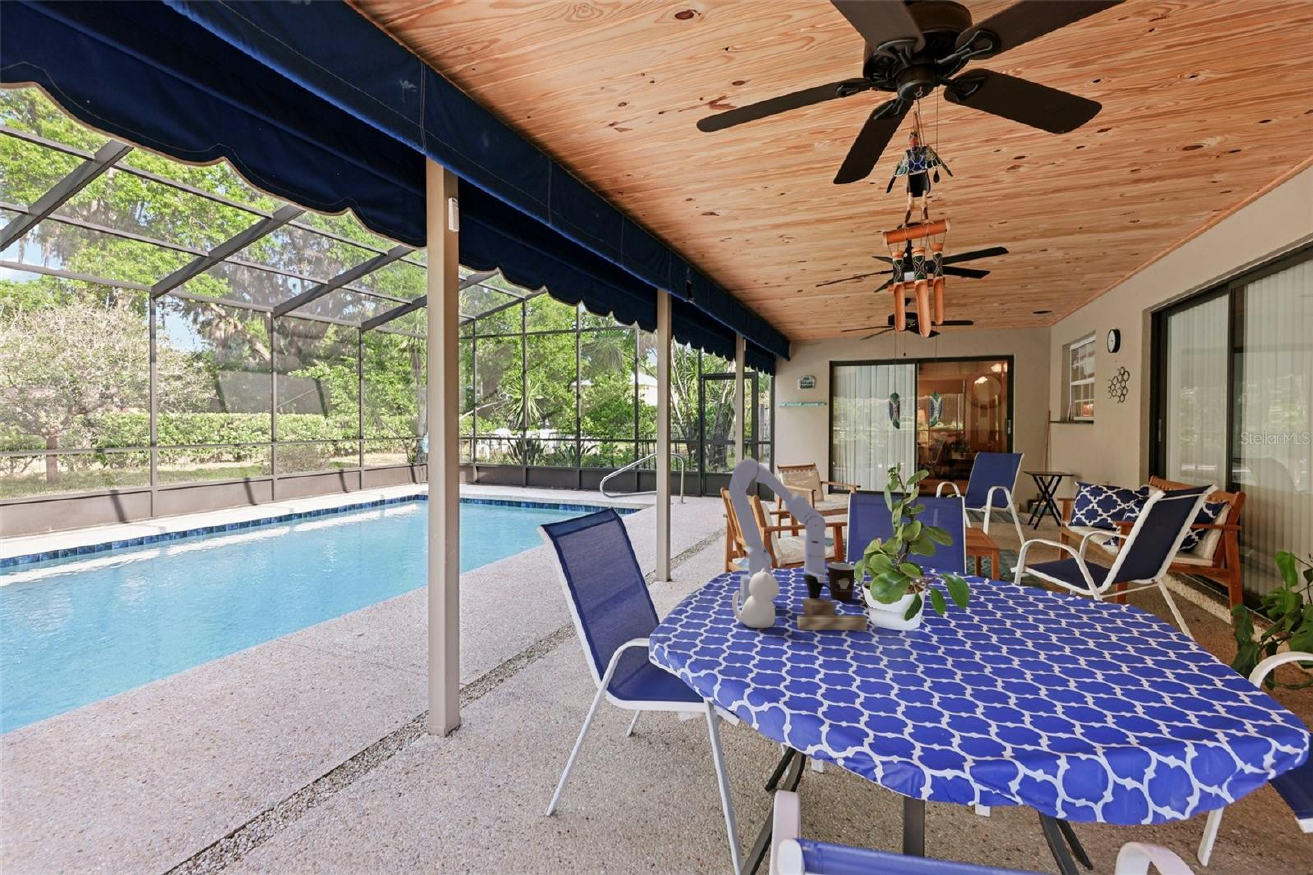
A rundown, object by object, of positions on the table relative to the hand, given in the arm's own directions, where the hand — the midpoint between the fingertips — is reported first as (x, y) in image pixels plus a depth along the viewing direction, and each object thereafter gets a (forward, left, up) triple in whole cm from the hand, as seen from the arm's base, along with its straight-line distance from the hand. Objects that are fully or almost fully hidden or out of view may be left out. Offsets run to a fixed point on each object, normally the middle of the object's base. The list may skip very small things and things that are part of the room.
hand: (814, 600), depth 172 cm
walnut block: (0, -4, -3) cm, 5 cm away
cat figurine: (-20, -13, -3) cm, 24 cm away
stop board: (0, -16, -2) cm, 16 cm away
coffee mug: (+11, +13, -3) cm, 17 cm away
